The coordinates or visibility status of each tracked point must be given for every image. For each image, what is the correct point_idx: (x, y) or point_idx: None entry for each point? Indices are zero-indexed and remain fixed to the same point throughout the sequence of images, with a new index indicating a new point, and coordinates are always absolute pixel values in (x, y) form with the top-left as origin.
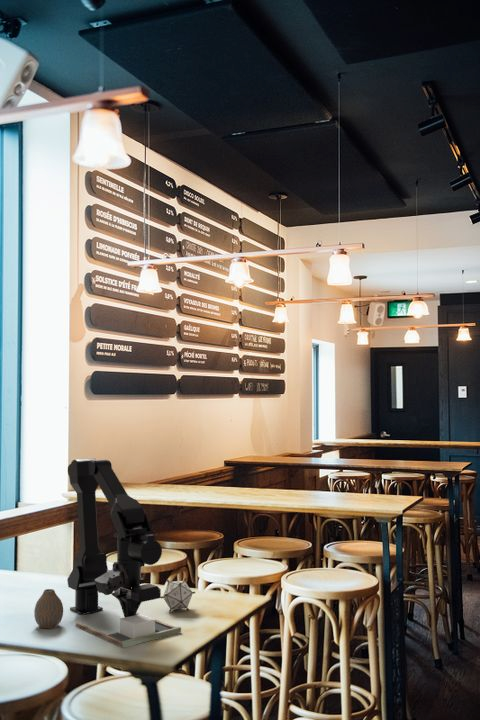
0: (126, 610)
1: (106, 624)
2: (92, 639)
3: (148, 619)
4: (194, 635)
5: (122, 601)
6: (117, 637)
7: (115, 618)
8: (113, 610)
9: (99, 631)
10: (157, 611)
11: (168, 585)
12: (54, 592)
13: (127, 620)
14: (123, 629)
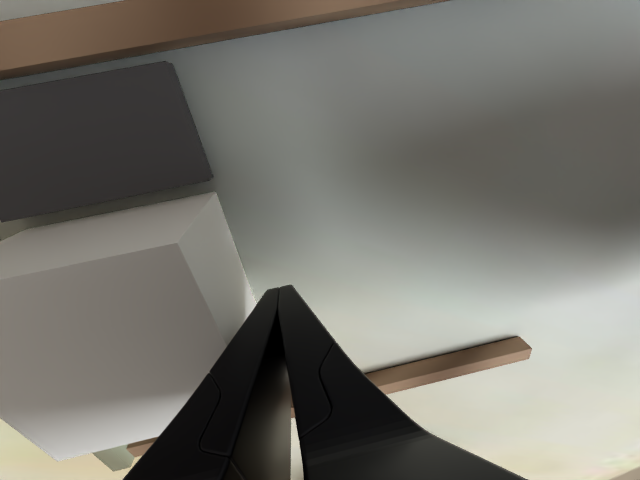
0: (236, 368)
1: (469, 191)
2: None
3: (62, 431)
4: (66, 470)
5: (303, 462)
6: (53, 126)
7: (519, 270)
8: (622, 297)
9: (268, 22)
10: (458, 420)
11: None
12: None
13: (66, 292)
14: (140, 219)
